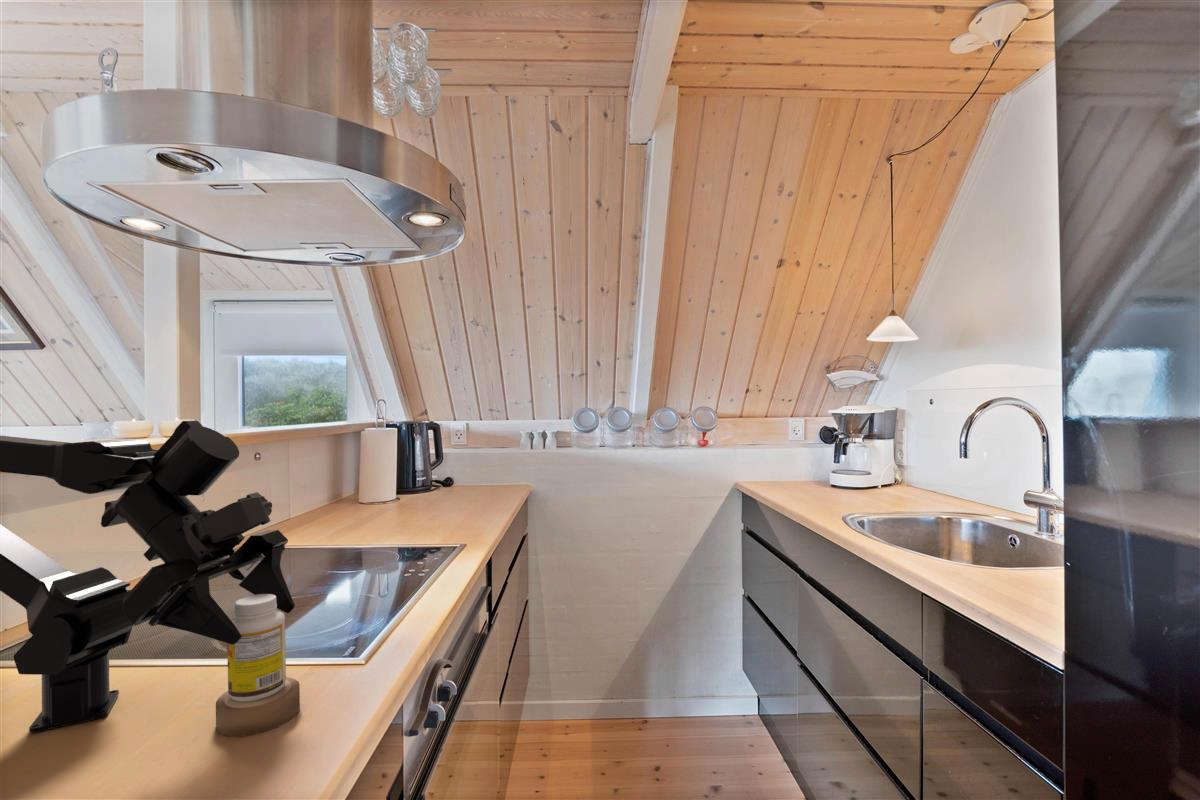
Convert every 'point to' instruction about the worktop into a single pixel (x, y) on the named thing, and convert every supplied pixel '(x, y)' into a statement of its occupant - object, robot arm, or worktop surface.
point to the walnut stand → (257, 711)
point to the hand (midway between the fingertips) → (266, 624)
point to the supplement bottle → (257, 649)
